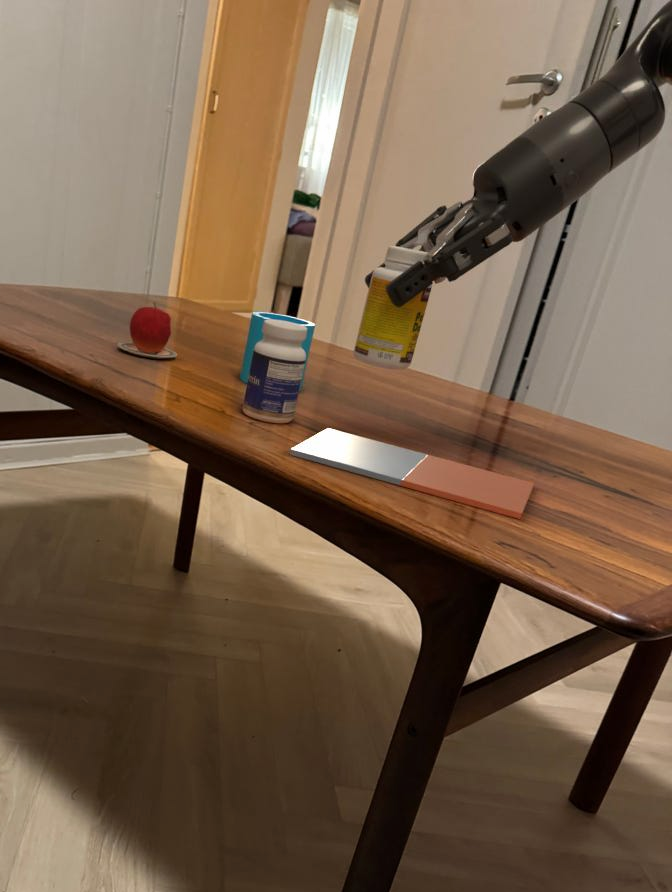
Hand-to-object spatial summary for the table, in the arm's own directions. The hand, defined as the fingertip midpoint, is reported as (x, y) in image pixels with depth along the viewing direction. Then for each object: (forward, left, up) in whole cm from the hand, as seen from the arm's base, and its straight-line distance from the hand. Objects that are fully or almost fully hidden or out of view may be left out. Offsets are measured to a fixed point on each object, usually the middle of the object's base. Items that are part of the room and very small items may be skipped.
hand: (380, 292), depth 83 cm
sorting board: (-7, -1, -15) cm, 17 cm away
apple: (+35, -26, -16) cm, 46 cm away
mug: (+17, -29, -16) cm, 37 cm away
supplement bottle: (-2, -1, -6) cm, 7 cm away
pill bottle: (+11, -8, -16) cm, 20 cm away
